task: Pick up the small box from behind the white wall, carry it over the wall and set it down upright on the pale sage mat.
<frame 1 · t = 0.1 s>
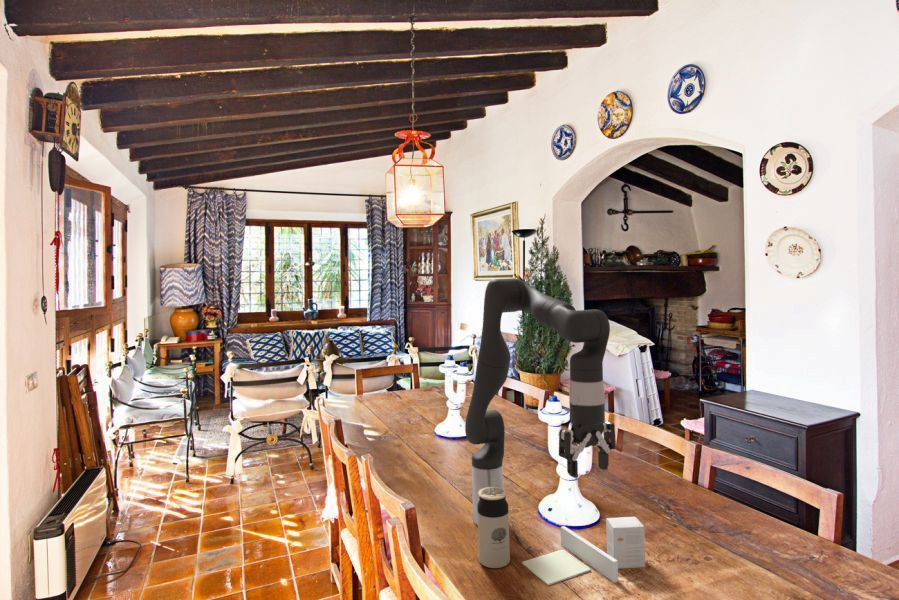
hand: (588, 472, 115), 29 cm above the table, tool pointing down, fingers open, 8 cm apart
travel mug: (494, 561, 134), on the table
white wall: (587, 562, 132), on the table
small box: (625, 563, 131), on the table
sage mat: (555, 567, 130), on the table
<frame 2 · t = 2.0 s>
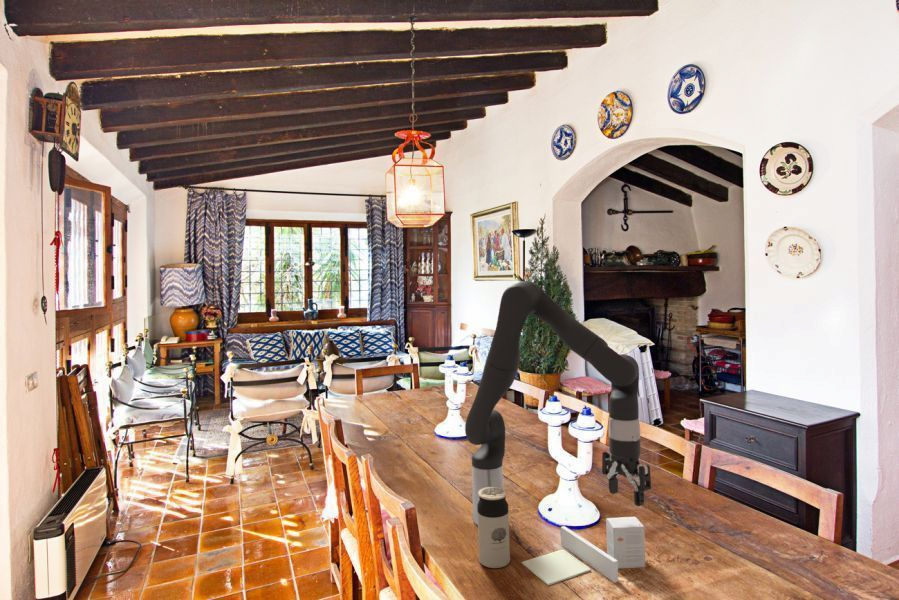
hand: (626, 499, 130), 16 cm above the table, tool pointing down, fingers open, 8 cm apart
nothing on the table moved.
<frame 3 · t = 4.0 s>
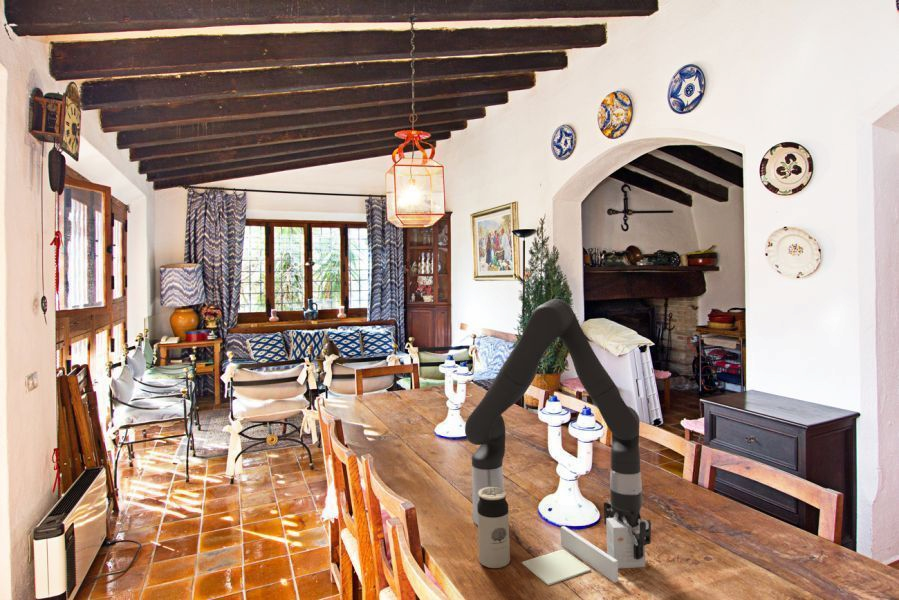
hand: (626, 551, 131), 3 cm above the table, tool pointing down, fingers closed on small box, 7 cm apart
small box: (625, 563, 131), on the table, touching gripper
everything else where it was.
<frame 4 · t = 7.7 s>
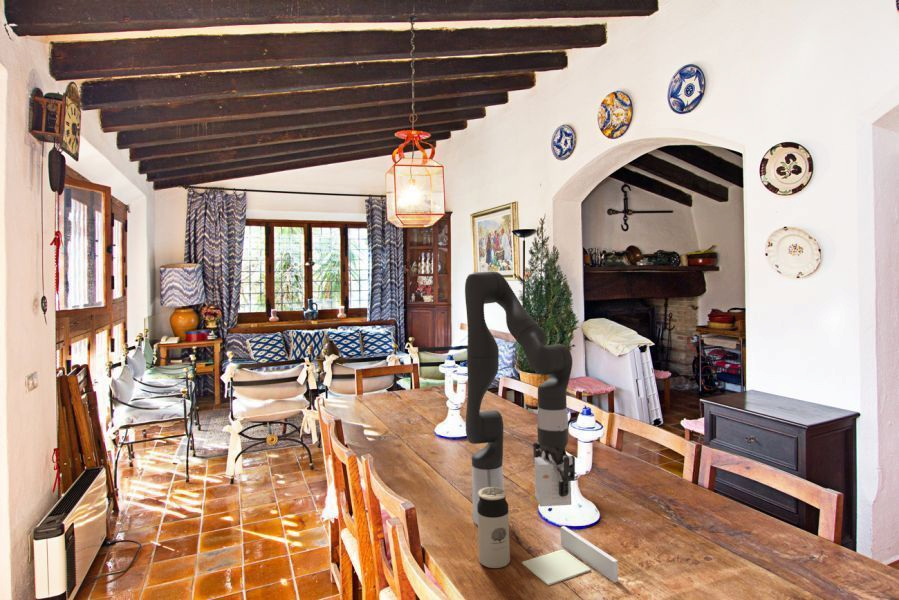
hand: (554, 490, 129), 20 cm above the table, tool pointing down, fingers closed on small box, 7 cm apart
small box: (552, 502, 129), point 16 cm above the table, touching gripper
everything else where it was.
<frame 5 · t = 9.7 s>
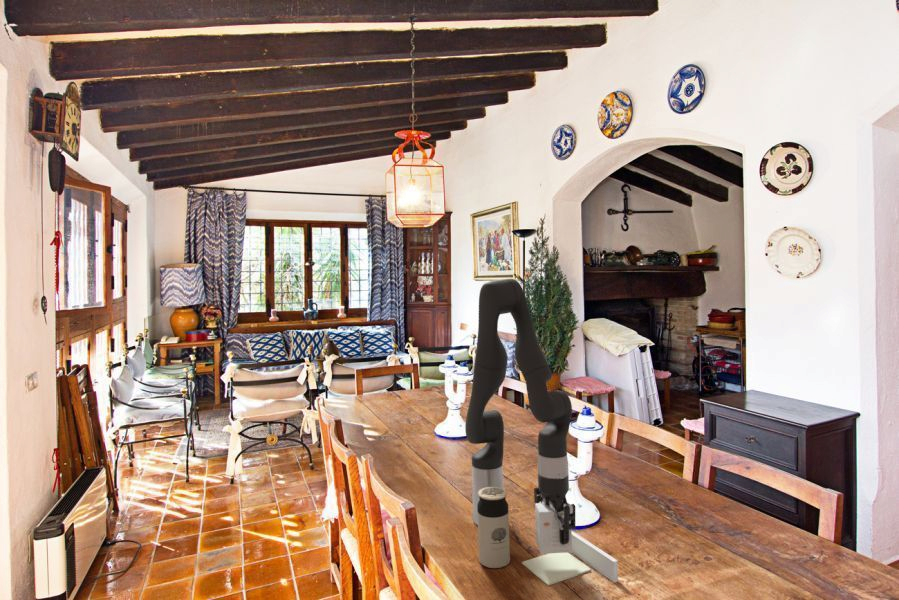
hand: (554, 536, 129), 8 cm above the table, tool pointing down, fingers closed on small box, 7 cm apart
small box: (553, 548, 129), point 5 cm above the table, touching gripper
everything else where it was.
when the fingers open (5 cm above the table, at t = 11.4 s): small box drops 1 cm, resting on sage mat.
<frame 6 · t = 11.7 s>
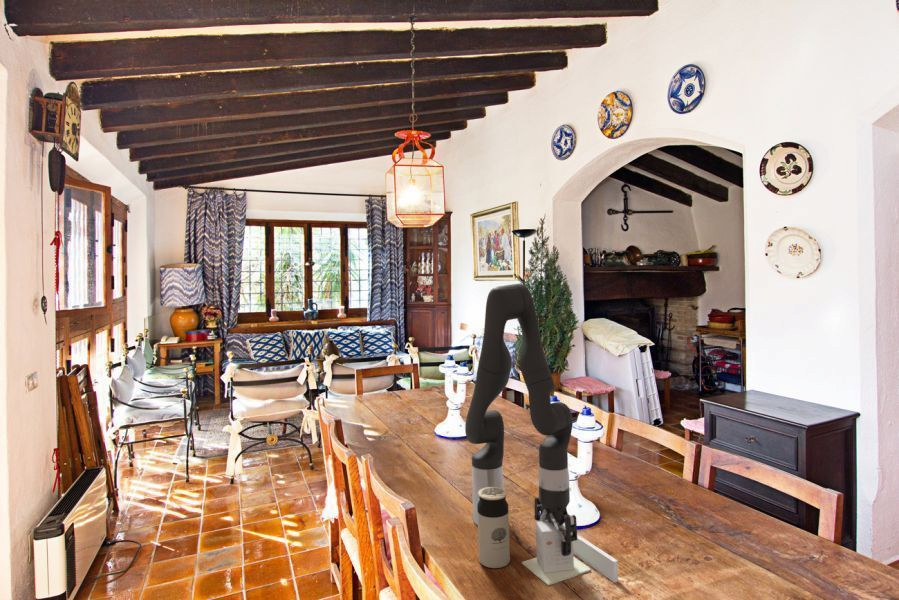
hand: (555, 547, 130), 5 cm above the table, tool pointing down, fingers open, 8 cm apart
small box: (554, 566, 130), resting on sage mat
everything else where it was.
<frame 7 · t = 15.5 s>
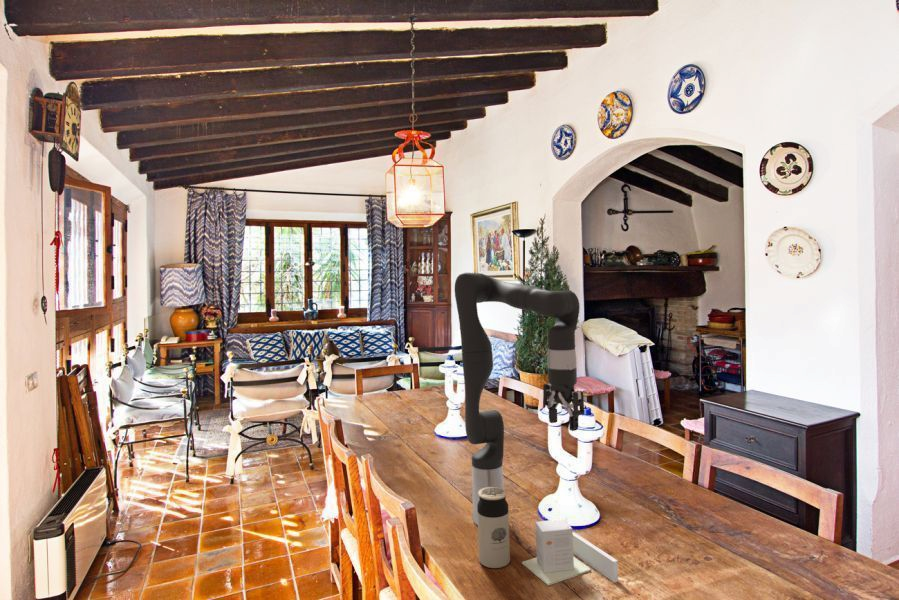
hand: (563, 426, 137), 33 cm above the table, tool pointing down, fingers open, 8 cm apart
nothing on the table moved.
at the end: small box inside the target area (0.3 cm from its centre), resting on sage mat; small box tilted 0°; the gripper is holding nothing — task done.
